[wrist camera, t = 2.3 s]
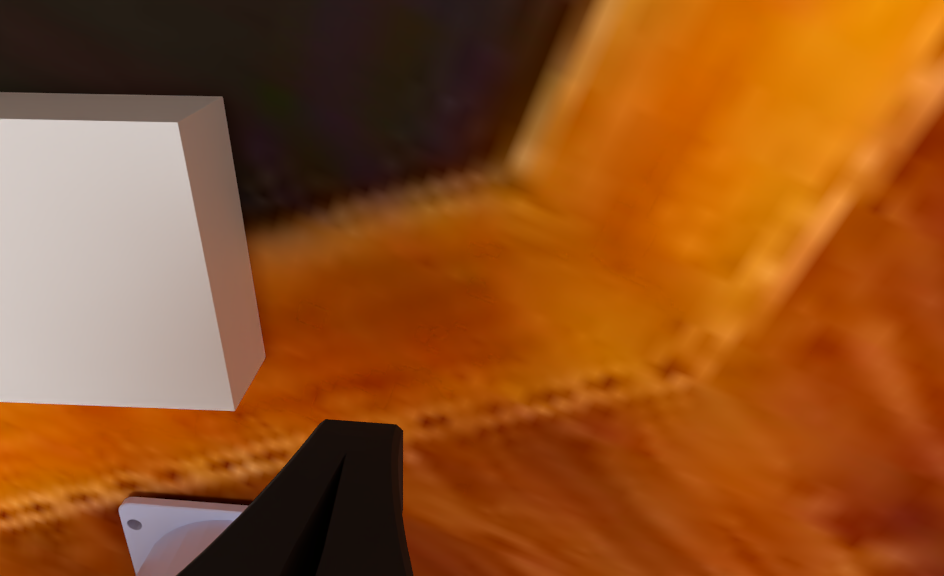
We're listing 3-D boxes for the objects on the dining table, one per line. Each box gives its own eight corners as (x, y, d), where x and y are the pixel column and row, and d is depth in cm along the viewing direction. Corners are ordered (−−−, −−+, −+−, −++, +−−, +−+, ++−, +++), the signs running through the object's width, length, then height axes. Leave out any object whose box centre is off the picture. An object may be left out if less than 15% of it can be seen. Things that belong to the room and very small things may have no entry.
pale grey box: (269, 351, 21) (234, 410, 19) (54, 343, 22) (-10, 401, 19) (228, 93, 18) (177, 122, 15) (-32, 88, 18) (-127, 116, 15)
